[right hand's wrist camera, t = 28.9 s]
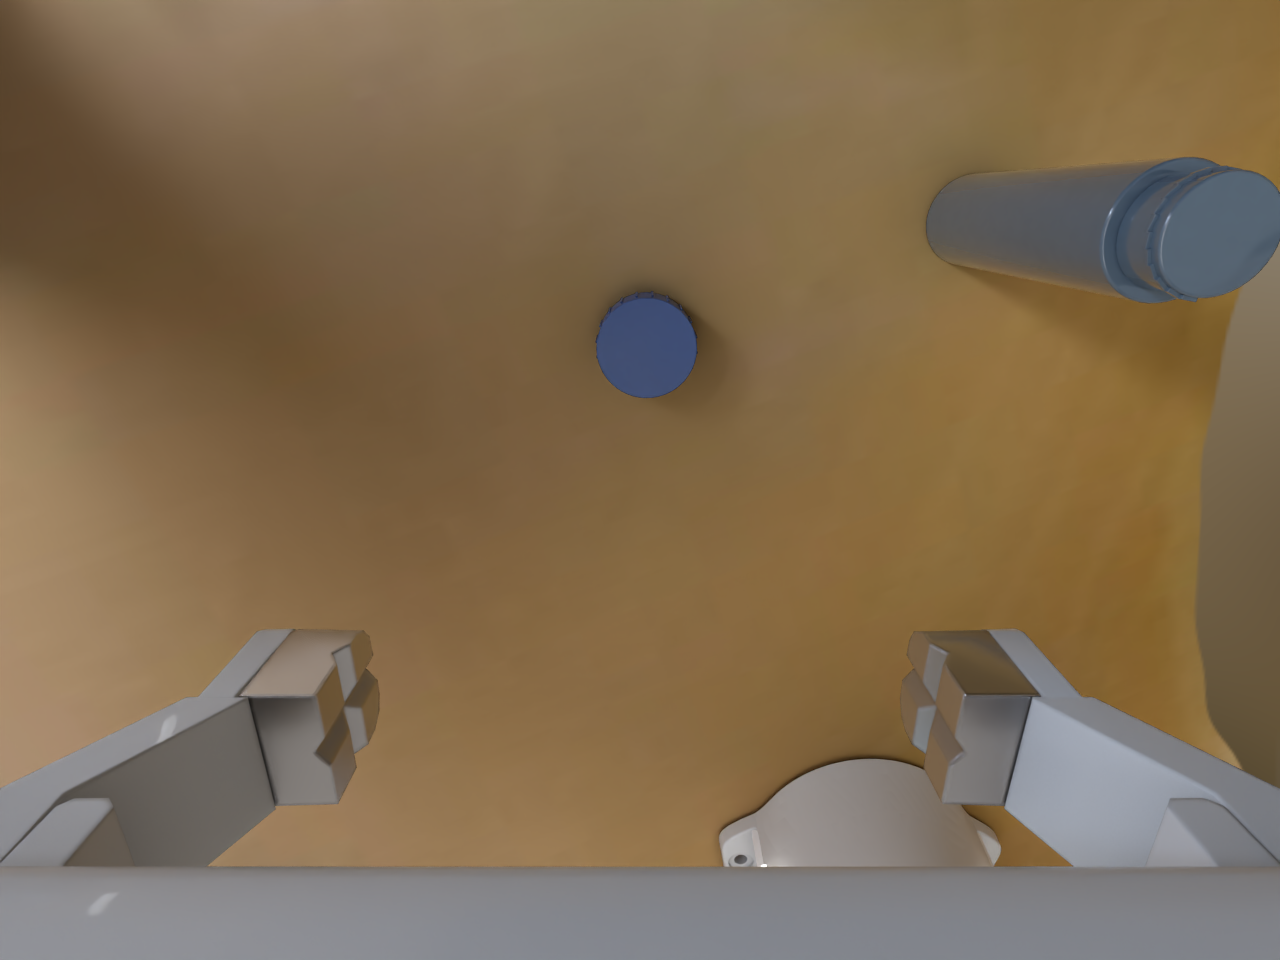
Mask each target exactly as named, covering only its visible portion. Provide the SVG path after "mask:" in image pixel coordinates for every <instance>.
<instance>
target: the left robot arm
mask: <svg viewBox="0 0 1280 960" xmlns="http://www.w3.org/2000/svg"><path fill="white" fill-rule="evenodd" d="M719 844H720V849H721V855H722V860H723V865H724V867H994V864H995V863H996V861H997V859H998V857H999V855H1000V853H1001V846H1000V844H999V841H998V839H997V836H996V834H995V832H994V831H993V830H992V829H991V828H989V827H988V826H987V825H985V824H983V823H982V822H980V821H978V820H977V819H975V818H973V817H971V816H969V815H968V813H967V812H966V811H965V810H964V809H963V807H962V805H958V804H942V803H941V801H940V799H939V797H938V795H937V793H936V791H935V789H934V787H933V785H932V783H931V781H930V779H929V777H928V775H927V774H926V772H925V770H923V769H921V768H919V767H916V766H913V765H910V764H907V763H903V762H898V761H893V760H885V759H856V760H848V761H843V762H838V763H834V764H830V765H827V766H824V767H821V768H818V769H815V770H813V771H811V772H808V773H806V774H804V775H802V776H800V777H799V778H797V779H795V780H794V781H792V782H791V783H789V784H788V785H786V786H785V787H784V788H782V789H781V790H780V791H779V792H778V793H777V794H776V795H775V796H774V797H773V798H772V799H771V800H770V801H769V802H768V803H766V804H765V805H764V806H763V807H762V808H761V809H760V810H759V811H757V812H756V813H754V814H752V815H749V816H747V817H745V818H743V819H740V820H738V821H736V822H734V823H732V824H731V825H729V826H727V827H726V828H725V829H723V830H722V832H721V833H720V835H719Z"/></svg>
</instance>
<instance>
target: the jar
mask: <svg viewBox="0 0 1280 960" xmlns="http://www.w3.org/2000/svg"><path fill="white" fill-rule="evenodd" d="M926 232H927V238H928V241H929V244H930V246H931V248H932V249H933V251H934V252H935V253H936V255H938V256H939V257H940V258H941V259H943V260H944V261H946V262H948V263H951V264H955V265H959V266H964V267H969V268H974V269H979V270H984V271H989V272H994V273H998V274H1003V275H1008V276H1013V277H1018V278H1023V279H1028V280H1033V281H1037V282H1042V283H1047V284H1052V285H1057V286H1062V287H1067V288H1072V289H1076V290H1081V291H1086V292H1091V293H1096V294H1101V295H1106V296H1111V297H1115V298H1120V299H1125V300H1130V301H1135V302H1140V303H1162V302H1167V301H1171V300H1175V299H1182V300H1187V301H1192V302H1196V301H1197V299H1198V298H1211V297H1216V296H1220V295H1223V294H1226V293H1228V292H1231V291H1233V290H1235V289H1237V288H1239V287H1241V286H1242V285H1244V284H1245V283H1247V282H1248V281H1249V280H1251V279H1252V278H1253V277H1254V276H1255V275H1256V274H1258V273H1259V272H1260V271H1261V270H1262V268H1263V267H1264V266H1265V265H1266V264H1267V262H1268V261H1269V259H1270V258H1271V257H1272V255H1273V254H1274V252H1275V250H1276V248H1277V246H1278V244H1279V241H1280V192H1279V191H1278V189H1277V188H1276V186H1275V185H1274V184H1273V183H1272V182H1271V181H1270V180H1269V179H1267V178H1266V177H1265V176H1263V175H1261V174H1259V173H1256V172H1253V171H1249V170H1242V169H1239V168H1233V167H1228V166H1220V165H1219V164H1217V163H1215V162H1213V161H1210V160H1207V159H1204V158H1198V157H1178V158H1166V159H1153V160H1140V161H1127V162H1115V163H1102V164H1089V165H1077V166H1064V167H1051V168H1039V169H1026V170H1013V171H1001V172H988V173H975V174H968V175H965V176H962V177H959V178H957V179H955V180H954V181H952V182H950V183H949V184H948V185H946V186H945V187H944V188H943V189H942V190H941V191H940V192H939V194H938V195H937V196H936V198H935V199H934V201H933V203H932V205H931V207H930V210H929V212H928V216H927V223H926Z"/></svg>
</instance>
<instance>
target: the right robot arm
mask: <svg viewBox="0 0 1280 960" xmlns="http://www.w3.org/2000/svg"><path fill="white" fill-rule="evenodd" d="M372 656H373V651H372V646H371V642H370V637H369V635H368V634H367V633H366V632H365V631H363V630H318V629H298V630H296V629H264V630H261V631H257V632H256V633H255V634H254V635H253V636H252V638H251V639H250V640H249V641H248V642H247V643H246V644H245V645H244V646H243V648H242V649H241V650H240V651H239V652H238V653H237V654H236V655H235V656H234V658H233V659H232V660H231V661H230V662H229V663H228V664H227V665H226V666H225V668H224V669H223V670H222V671H221V672H220V673H219V674H218V675H217V676H216V678H215V679H214V680H213V681H212V682H211V683H210V684H209V685H208V686H207V688H206V689H205V690H204V691H203V692H202V693H201V694H200V695H199V696H198V697H186V698H184V699H182V700H180V701H178V702H176V703H174V704H172V705H170V706H168V707H166V708H164V709H162V710H159V711H157V712H155V713H153V714H151V715H149V716H147V717H145V718H143V719H141V720H139V721H137V722H135V723H133V724H131V725H129V726H127V727H125V728H123V729H121V730H119V731H117V732H114V733H112V734H110V735H108V736H106V737H104V738H102V739H100V740H98V741H96V742H94V743H92V744H90V745H88V746H86V747H84V748H82V749H80V750H78V751H76V752H74V753H72V754H69V755H67V756H65V757H63V758H61V759H59V760H57V761H55V762H53V763H51V764H49V765H47V766H45V767H43V768H41V769H39V770H37V771H35V772H33V773H31V774H29V775H27V776H24V777H22V778H20V779H18V780H16V781H14V782H12V783H10V784H8V785H6V786H4V787H2V788H0V960H1280V788H1277V787H1275V786H1273V785H1271V784H1269V783H1267V782H1265V781H1263V780H1261V779H1259V778H1257V777H1255V776H1253V775H1251V774H1249V773H1247V772H1245V771H1243V770H1241V769H1239V768H1237V767H1235V766H1233V765H1231V764H1229V763H1226V762H1224V761H1222V760H1220V759H1218V758H1216V757H1214V756H1212V755H1210V754H1208V753H1206V752H1204V751H1202V750H1200V749H1198V748H1196V747H1194V746H1192V745H1190V744H1188V743H1186V742H1184V741H1182V740H1180V739H1178V738H1176V737H1173V736H1171V735H1169V734H1167V733H1165V732H1163V731H1161V730H1159V729H1157V728H1155V727H1153V726H1151V725H1149V724H1147V723H1145V722H1143V721H1141V720H1139V719H1137V718H1135V717H1133V716H1131V715H1129V714H1127V713H1125V712H1122V711H1120V710H1118V709H1116V708H1114V707H1112V706H1110V705H1108V704H1106V703H1104V702H1102V701H1100V700H1098V699H1096V698H1094V697H1082V696H1081V695H1080V694H1079V693H1078V692H1077V691H1076V690H1075V689H1074V688H1073V686H1072V685H1071V684H1070V683H1069V682H1068V681H1067V680H1066V679H1065V678H1064V676H1063V675H1062V674H1061V673H1060V672H1059V671H1058V670H1057V669H1056V668H1055V666H1054V665H1053V664H1052V663H1051V662H1050V661H1049V660H1048V659H1047V658H1046V656H1045V655H1044V654H1043V653H1042V652H1041V651H1040V650H1039V649H1038V648H1037V646H1036V645H1035V644H1034V643H1033V642H1032V641H1031V640H1030V639H1029V638H1028V636H1027V635H1026V634H1025V633H1024V632H1022V631H1020V630H1018V629H1015V628H1014V629H986V630H963V631H914V632H913V634H912V636H911V638H910V640H909V645H908V651H907V656H908V658H909V660H910V662H911V663H912V665H913V667H914V669H913V670H912V671H911V672H910V673H909V674H908V675H907V676H906V677H905V678H904V679H903V680H902V688H901V696H900V704H901V716H902V720H903V724H904V727H905V731H906V733H907V735H908V737H909V739H910V742H911V744H912V745H914V746H915V747H917V748H918V749H919V750H921V751H922V752H924V753H925V754H926V756H925V761H924V767H923V768H924V770H925V772H926V774H927V775H928V777H929V779H930V781H931V783H932V785H933V787H934V789H935V791H936V793H937V795H938V797H939V799H940V801H941V803H942V804H958V805H994V806H1005V807H1004V809H1005V810H1006V811H1008V812H1009V813H1010V814H1011V815H1012V816H1014V817H1015V818H1016V819H1017V820H1018V821H1020V822H1021V823H1022V824H1023V825H1024V826H1026V827H1027V828H1028V829H1029V830H1031V831H1032V832H1033V833H1034V834H1035V835H1037V836H1038V837H1039V838H1040V839H1041V840H1043V841H1044V842H1045V843H1046V844H1047V845H1049V846H1050V847H1051V848H1052V849H1053V850H1055V851H1056V852H1057V853H1058V854H1059V855H1061V856H1062V857H1063V858H1064V859H1066V860H1067V861H1068V862H1069V863H1070V864H1072V865H1073V866H1074V867H206V866H207V865H209V864H210V863H211V862H212V861H213V860H215V859H216V858H217V857H218V856H220V855H221V854H222V853H223V852H224V851H226V850H227V849H228V848H229V847H230V846H232V845H233V844H234V843H235V842H236V841H238V840H239V839H240V838H241V837H242V836H244V835H245V834H246V833H247V832H249V831H250V830H251V829H252V828H253V827H255V826H256V825H257V824H258V823H259V822H261V821H262V820H263V819H264V818H265V817H267V816H268V815H269V814H270V813H272V812H273V811H274V810H275V809H276V807H275V806H286V805H320V804H338V803H339V801H340V799H341V797H342V795H343V793H344V791H345V789H346V787H347V785H348V783H349V781H350V779H351V777H352V775H353V774H354V772H355V770H356V768H357V767H356V761H355V756H354V754H355V753H356V752H358V751H359V750H361V749H362V748H363V747H365V746H366V745H368V744H369V741H370V739H371V737H372V735H373V733H374V731H375V728H376V723H377V719H378V714H379V705H380V693H379V687H378V680H377V679H376V678H375V677H374V676H373V675H372V674H371V673H370V672H369V671H368V670H367V669H366V667H367V665H368V663H369V662H370V660H371V658H372Z"/></svg>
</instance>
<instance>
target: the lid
mask: <svg viewBox="0 0 1280 960" xmlns="http://www.w3.org/2000/svg"><path fill="white" fill-rule="evenodd" d="M691 323H692V321H691V318H690V316H687V314H686V313H685V311H684V310H683V309H682V306H681V304H679V305H678V304H677V303H676V302H674V301H673V300H672V299H670V298H669V297H668V296H667V295H666V296H663V295H661V294H656V293H653V291H651V293H649V292H644V293H638V292H635V294H633V295H630V296H627V297H625V298H623V297H622V298H621V300H620V301H619V302H617V303H616V304H615V305H614V306H613V307H612V308H611V307H610V308H609V310H608V313H607V314H606V316H605V318H604V320H601V323H600V326H599V327H600V331H599V334H598V335H597V338H596V343H597V358H598V362H599V365H600V367H601V369H602V372H603V373H604V375H605V376H606V378H607V379H608V380H609V381H610V383H611V384H612V385H614V386H615V387H616V388H617V389H619V390H620V391H622V392H624V393H626V394H628V395H631V396H635V397H640V398H653V397H659V396H662V395H665V394H667V393H669V392H671V391H673V390H674V389H676V388H677V387H678V386H680V385H681V384H682V383H683V382H684V381H685V380H686V378H687V377H688V375H689V374H690V372H691V370H692V369H693V366H694V363H695V359H696V354H697V341H696V338H697V335H696V333H695V331H694V329H693V327H692V325H691Z"/></svg>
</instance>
